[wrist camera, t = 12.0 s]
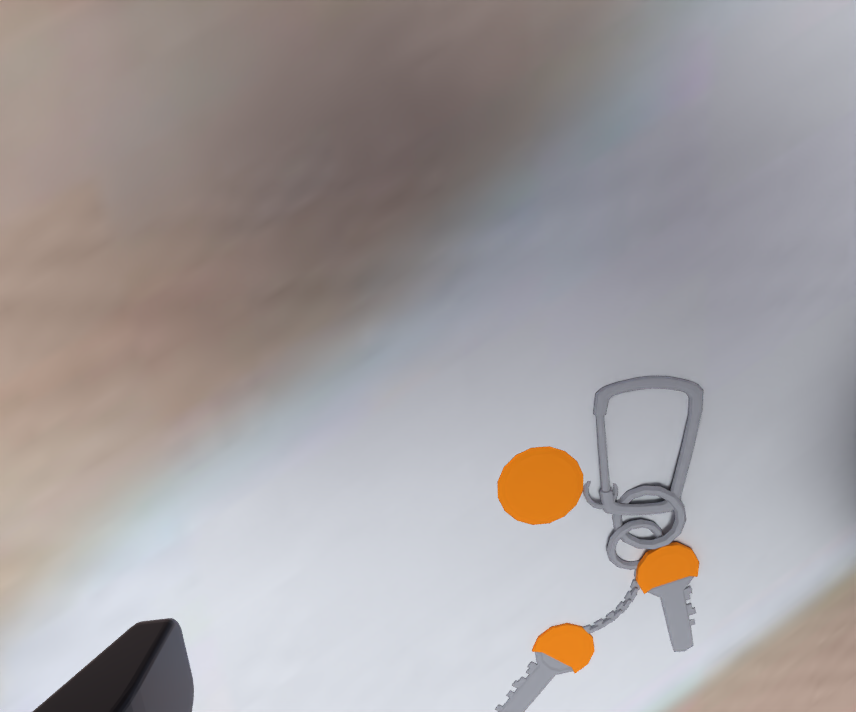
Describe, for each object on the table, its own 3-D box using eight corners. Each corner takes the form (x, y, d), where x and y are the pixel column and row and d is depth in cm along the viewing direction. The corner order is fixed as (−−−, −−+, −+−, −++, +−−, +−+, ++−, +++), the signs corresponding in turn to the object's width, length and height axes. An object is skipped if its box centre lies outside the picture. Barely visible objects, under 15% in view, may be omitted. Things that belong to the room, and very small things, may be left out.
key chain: (490, 376, 22) (494, 386, 21) (731, 369, 22) (744, 379, 21) (481, 718, 26) (484, 738, 25) (684, 705, 26) (694, 724, 25)
